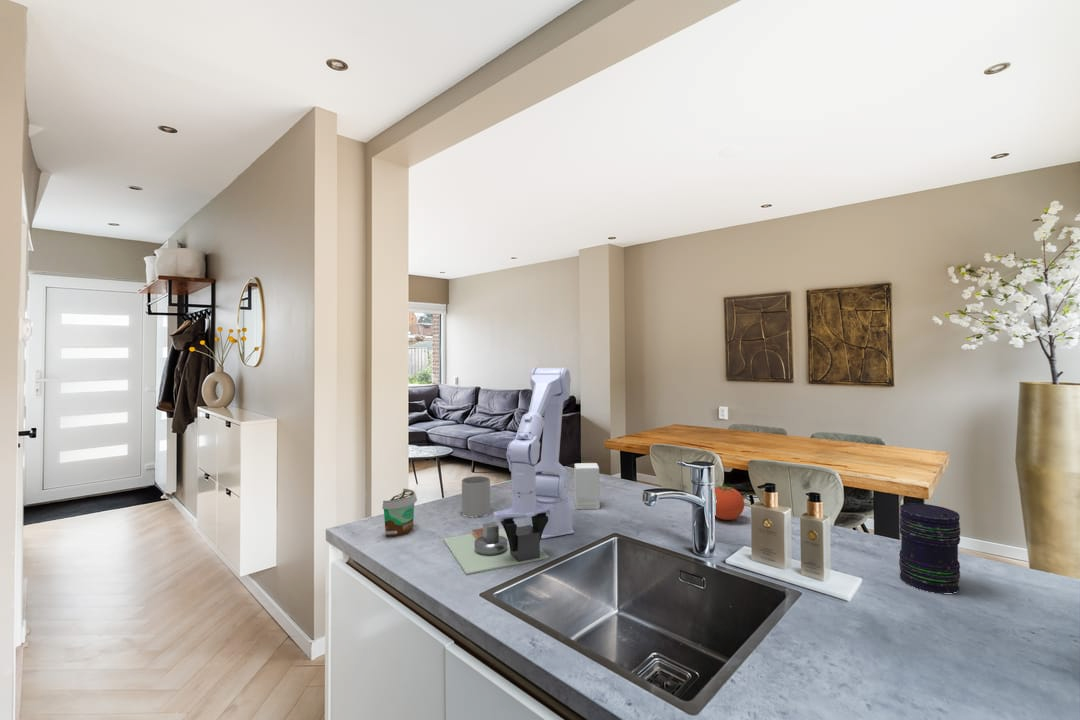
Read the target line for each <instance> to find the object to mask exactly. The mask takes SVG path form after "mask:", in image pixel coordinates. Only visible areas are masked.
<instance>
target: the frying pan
mask: <svg viewBox="0 0 1080 720" xmlns="http://www.w3.org/2000/svg"><path fill="white" fill-rule="evenodd" d="M499 529H500V527H499V525H498V523H496V522H495V521H493V522H486V523H482V527H480V528H477V529H472V530H471V534H472V535H473V536H474V537H475V538H476V540H475V542H474V543H475V552H476V553H477V554H479V555H482V556H496V555H500V554H503V553H505V552H506V551H507V549H508V545H507V539H506V538H505V537H503V536H499Z"/></svg>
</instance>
